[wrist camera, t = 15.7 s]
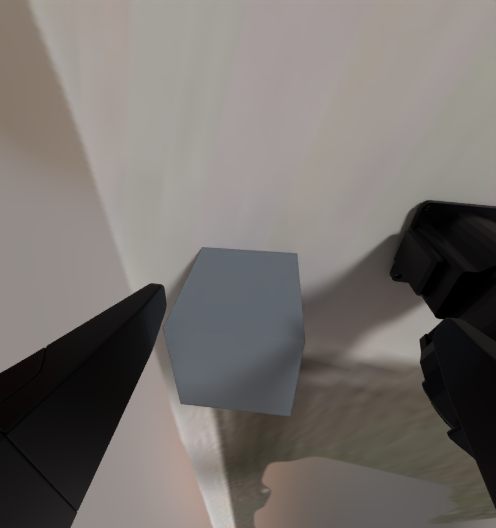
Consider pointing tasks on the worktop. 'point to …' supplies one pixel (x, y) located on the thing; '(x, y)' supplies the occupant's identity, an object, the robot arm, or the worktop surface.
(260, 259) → the grey block
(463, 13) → the worktop surface
